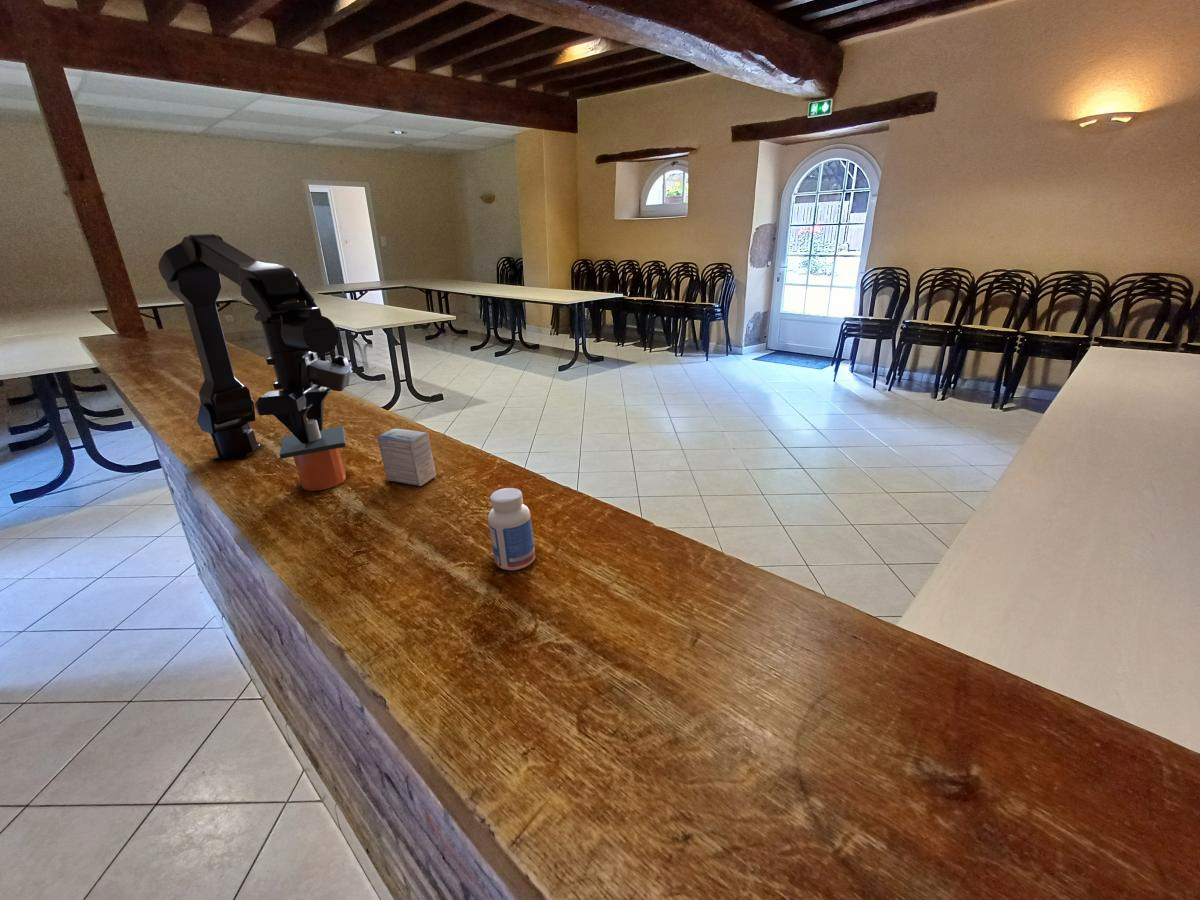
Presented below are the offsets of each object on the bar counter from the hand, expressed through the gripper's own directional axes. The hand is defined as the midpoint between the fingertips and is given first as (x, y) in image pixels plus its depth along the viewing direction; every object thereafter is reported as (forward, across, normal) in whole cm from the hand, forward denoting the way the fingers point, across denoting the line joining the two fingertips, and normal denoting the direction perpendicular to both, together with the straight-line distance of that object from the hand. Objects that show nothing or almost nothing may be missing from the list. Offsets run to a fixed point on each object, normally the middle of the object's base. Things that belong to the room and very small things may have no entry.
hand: (312, 436), depth 97 cm
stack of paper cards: (+9, -2, -16) cm, 18 cm away
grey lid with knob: (+1, 0, 0) cm, 1 cm away
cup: (+9, 0, 0) cm, 9 cm away
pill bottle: (+9, -31, -36) cm, 48 cm away
